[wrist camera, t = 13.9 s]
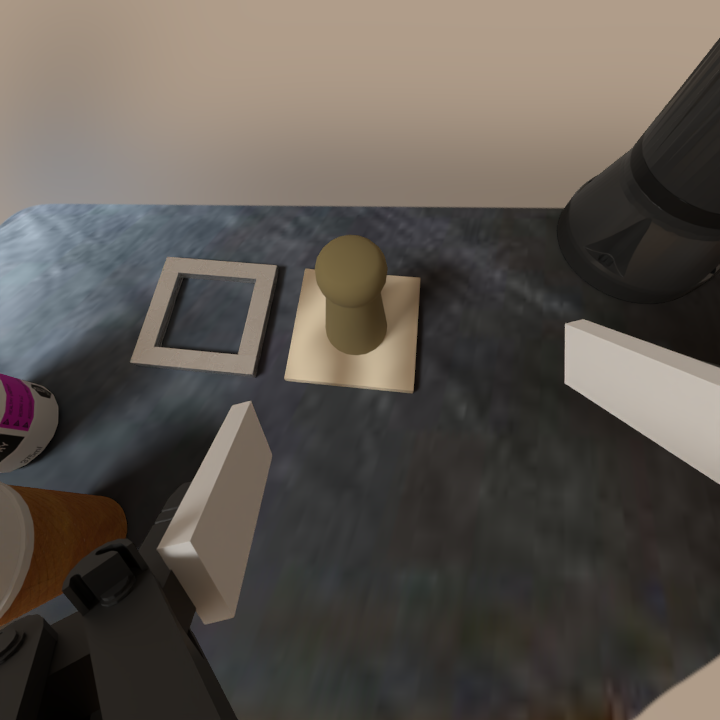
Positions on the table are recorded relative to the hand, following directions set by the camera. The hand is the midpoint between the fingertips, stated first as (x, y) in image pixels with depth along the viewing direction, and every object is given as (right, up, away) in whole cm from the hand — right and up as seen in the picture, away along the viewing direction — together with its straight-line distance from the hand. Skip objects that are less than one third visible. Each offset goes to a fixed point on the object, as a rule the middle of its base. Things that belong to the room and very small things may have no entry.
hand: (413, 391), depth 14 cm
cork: (-3, +5, +19) cm, 20 cm away
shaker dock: (-17, +6, +21) cm, 28 cm away
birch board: (-3, +4, +20) cm, 21 cm away
